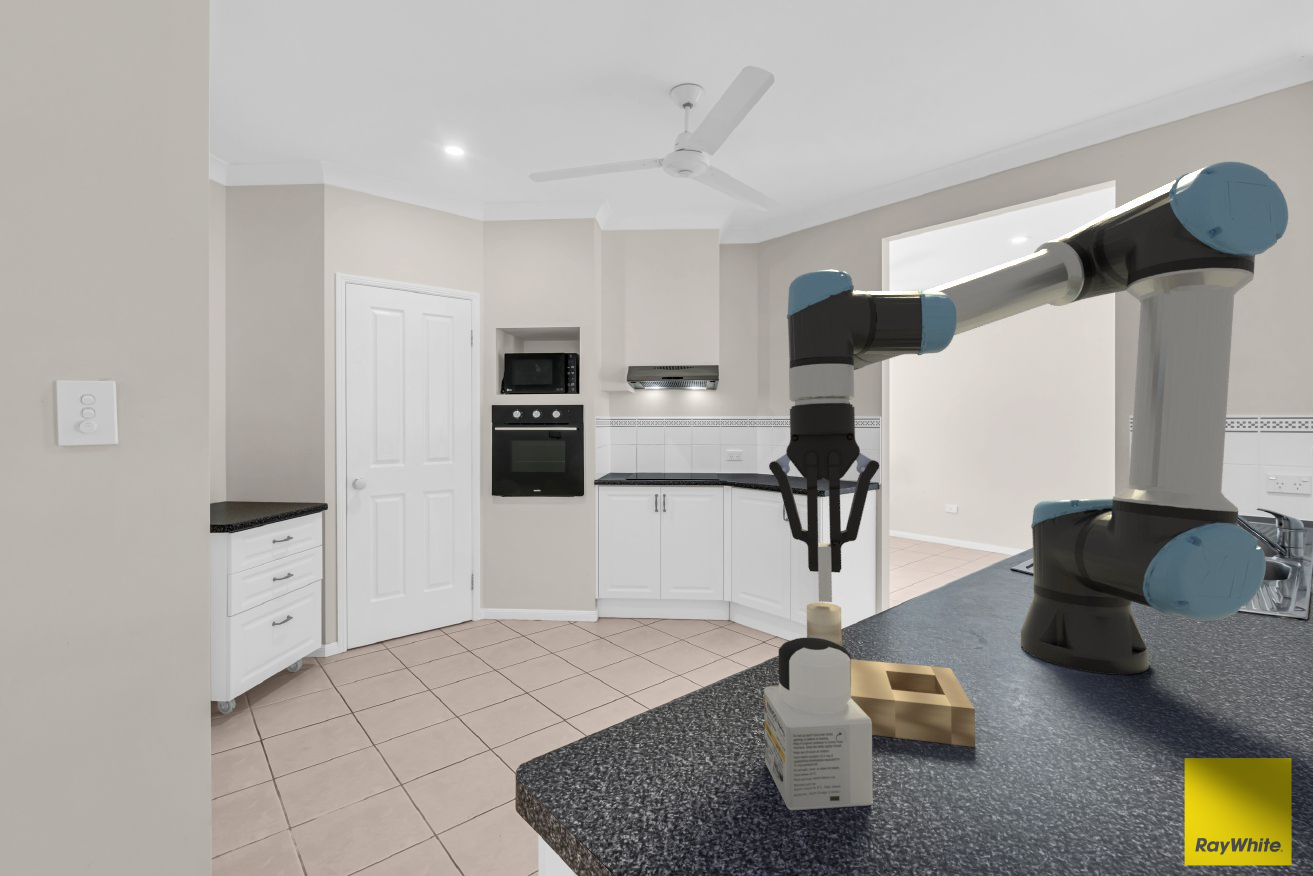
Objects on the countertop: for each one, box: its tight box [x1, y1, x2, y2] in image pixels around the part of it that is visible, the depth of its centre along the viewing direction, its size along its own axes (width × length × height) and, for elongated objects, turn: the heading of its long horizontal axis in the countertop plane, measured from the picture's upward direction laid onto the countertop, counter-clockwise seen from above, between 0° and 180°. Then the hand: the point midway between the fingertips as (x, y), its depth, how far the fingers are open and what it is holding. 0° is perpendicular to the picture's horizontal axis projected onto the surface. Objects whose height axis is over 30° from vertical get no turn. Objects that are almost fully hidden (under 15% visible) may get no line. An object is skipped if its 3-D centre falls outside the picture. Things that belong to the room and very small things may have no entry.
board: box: [851, 658, 976, 748], centre depth 68 cm, size 20×11×4 cm, turn 75°
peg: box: [806, 602, 843, 647], centre depth 69 cm, size 4×4×12 cm
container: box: [763, 637, 873, 811], centre depth 54 cm, size 8×8×13 cm
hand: (825, 598), depth 69 cm, fingers closed
